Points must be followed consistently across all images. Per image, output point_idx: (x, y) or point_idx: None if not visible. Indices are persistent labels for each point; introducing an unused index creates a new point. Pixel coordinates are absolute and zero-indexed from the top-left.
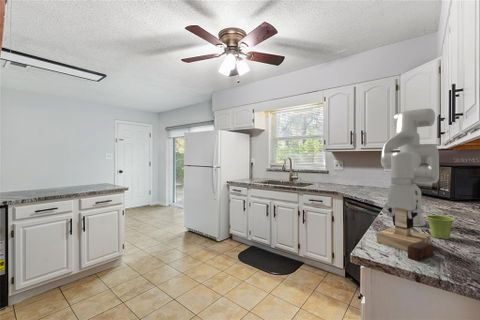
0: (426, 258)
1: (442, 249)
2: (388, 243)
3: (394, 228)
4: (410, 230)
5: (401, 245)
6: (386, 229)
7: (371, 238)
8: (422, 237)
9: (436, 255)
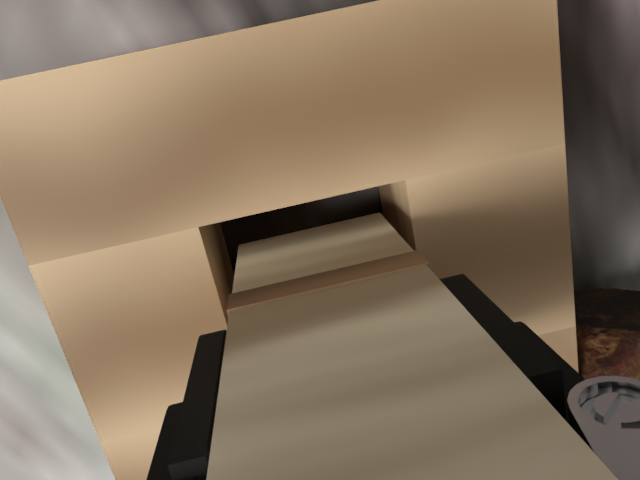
0: None
1: (613, 16)
2: None
3: (54, 140)
4: (405, 243)
5: None
6: (59, 316)
7: (40, 417)
8: (537, 198)
9: (633, 258)
